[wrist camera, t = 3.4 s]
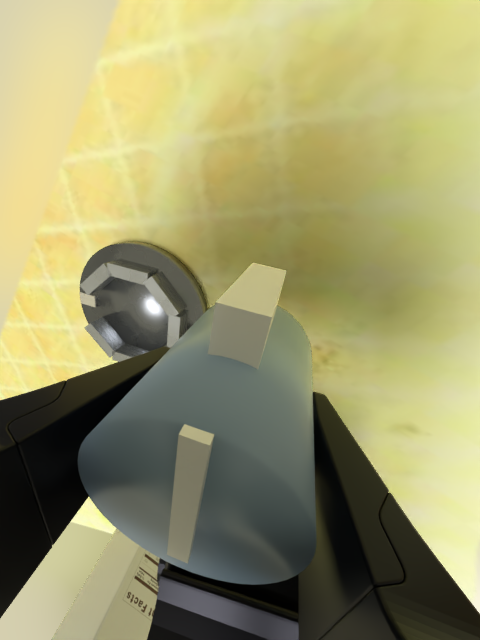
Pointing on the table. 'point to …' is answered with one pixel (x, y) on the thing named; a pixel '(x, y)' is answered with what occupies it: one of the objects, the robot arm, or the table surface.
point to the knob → (217, 444)
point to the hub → (138, 299)
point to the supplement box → (115, 595)
